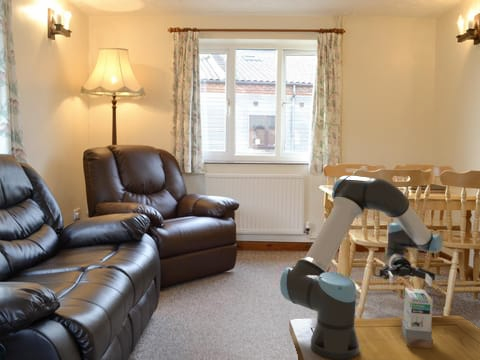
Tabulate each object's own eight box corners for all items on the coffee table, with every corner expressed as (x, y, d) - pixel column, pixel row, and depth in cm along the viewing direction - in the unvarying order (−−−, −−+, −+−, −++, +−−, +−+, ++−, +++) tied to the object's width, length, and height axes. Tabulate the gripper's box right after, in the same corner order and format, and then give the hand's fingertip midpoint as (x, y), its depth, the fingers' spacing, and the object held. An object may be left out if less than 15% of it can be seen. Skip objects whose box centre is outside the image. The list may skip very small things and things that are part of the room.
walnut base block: (406, 346, 147) (407, 337, 147) (401, 335, 155) (401, 327, 155) (432, 348, 146) (433, 339, 146) (425, 337, 154) (425, 329, 154)
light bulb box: (431, 332, 144) (433, 299, 143) (409, 330, 145) (411, 298, 144) (422, 319, 155) (425, 288, 154) (402, 317, 156) (404, 287, 155)
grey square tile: (405, 337, 147) (405, 328, 147) (401, 327, 155) (402, 319, 155) (431, 340, 145) (431, 331, 145) (426, 330, 153) (426, 321, 153)
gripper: (431, 276, 184) (446, 294, 163) (368, 271, 187) (375, 288, 166) (432, 258, 183) (448, 273, 162) (369, 254, 187) (376, 268, 166)
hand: (411, 281), depth 164 cm, fingers open, 13 cm apart
